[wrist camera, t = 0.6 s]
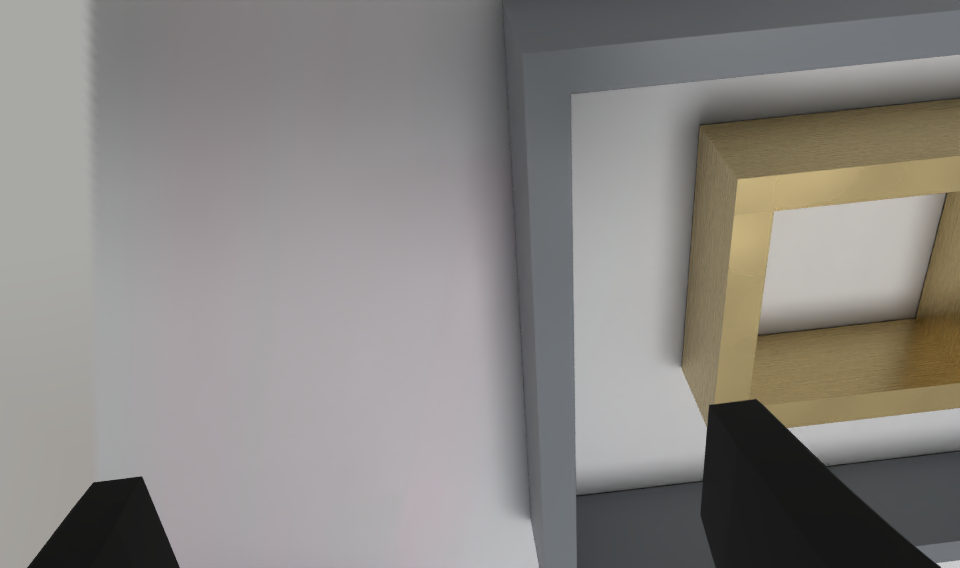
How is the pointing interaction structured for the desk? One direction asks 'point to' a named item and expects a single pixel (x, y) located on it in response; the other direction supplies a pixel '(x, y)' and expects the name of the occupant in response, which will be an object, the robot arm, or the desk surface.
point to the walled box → (549, 240)
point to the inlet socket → (744, 253)
